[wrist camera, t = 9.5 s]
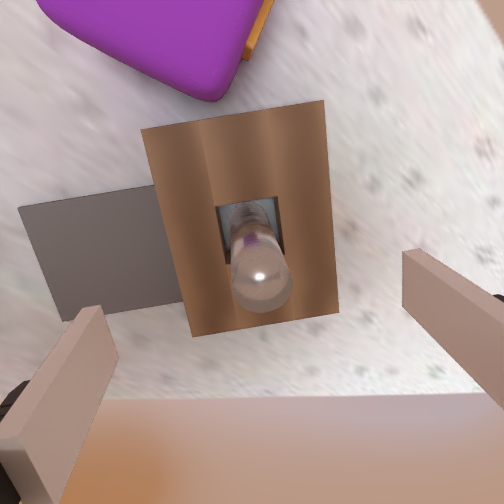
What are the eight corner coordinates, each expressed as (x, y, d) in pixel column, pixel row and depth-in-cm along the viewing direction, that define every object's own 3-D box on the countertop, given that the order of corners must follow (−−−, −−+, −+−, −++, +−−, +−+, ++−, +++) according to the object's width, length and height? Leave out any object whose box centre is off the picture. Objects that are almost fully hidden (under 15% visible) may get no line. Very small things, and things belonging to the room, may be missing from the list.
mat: (64, 319, 31) (62, 321, 30) (20, 206, 27) (17, 208, 27) (202, 296, 31) (201, 298, 30) (175, 181, 27) (175, 182, 27)
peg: (233, 241, 29) (237, 317, 18) (226, 205, 28) (226, 263, 17) (269, 235, 29) (295, 307, 18) (263, 199, 28) (288, 252, 17)
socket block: (195, 317, 31) (192, 337, 29) (149, 128, 26) (140, 129, 23) (329, 295, 31) (339, 312, 29) (313, 102, 26) (323, 99, 23)
